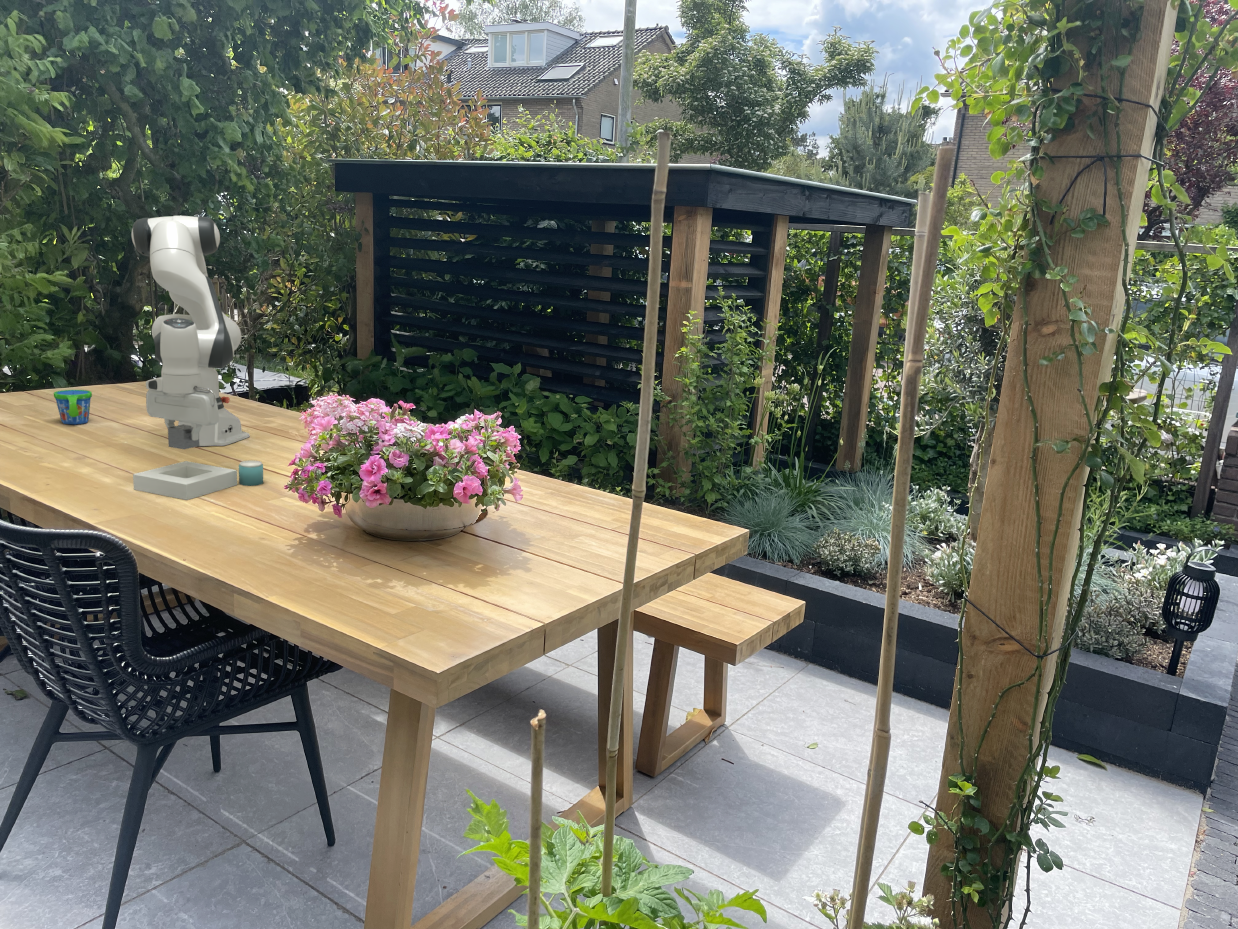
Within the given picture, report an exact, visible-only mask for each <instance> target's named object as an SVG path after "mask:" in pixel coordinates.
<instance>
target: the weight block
mask: <svg viewBox="0 0 1238 929" xmlns="http://www.w3.org/2000/svg"><path fill="white" fill-rule="evenodd" d="M192 430H193V427H191V426H190V425H184V424H183V425H178V424H177V425H175V426H173V427H168V428H167V440H168V443H167V445H168V448H174V449H179V450H188V449H191V448H196V447H200V446H199V439H198V440H195V441H194V440H190V439H189V433H191V432H192Z"/></svg>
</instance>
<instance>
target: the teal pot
mask: <svg viewBox="0 0 1238 929" xmlns="http://www.w3.org/2000/svg"><path fill="white" fill-rule="evenodd" d="M238 484H239V485H240V486H245V487H254V486H255V487H256V486H260V485H263V484H264V464H263V462H262V461H260V460H252V459H251V460H250V459H249V460H243V461H240V462H239V463H238Z"/></svg>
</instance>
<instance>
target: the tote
mask: <svg viewBox="0 0 1238 929" xmlns="http://www.w3.org/2000/svg"><path fill="white" fill-rule="evenodd" d="M132 481H133V482H132V483H133V484H132V485H133V490H135V491H140V492H144V493H148V494H154V495H160V496H164V497H170V498H173V499H180V500H184V501H189V500H193V499H196V498H199V497H201V496H204V495H205V496H206V495H208V494H212V493H215V492H218V491H222V490H225V489H228V488H231V487H235V486H237V485H238V471H237V470H236V469H232V468H226V467H221V466H215V465H210V464H205V463H200V462H199V463H198V462H195V461H189V460H188V461H187V460H185V461H181V462H176V463H172V464H168V465H164V466H161V467H156V468H152V469H149V470H144V471H140V472H136V473H132Z"/></svg>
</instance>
